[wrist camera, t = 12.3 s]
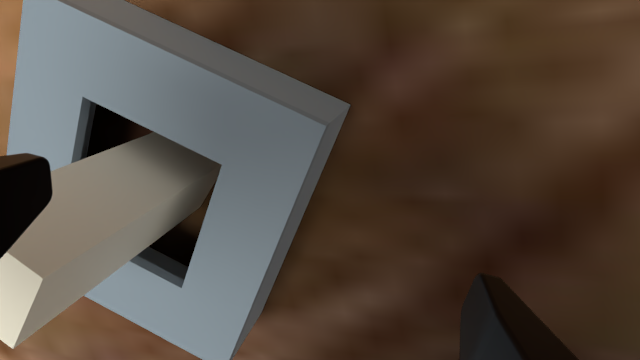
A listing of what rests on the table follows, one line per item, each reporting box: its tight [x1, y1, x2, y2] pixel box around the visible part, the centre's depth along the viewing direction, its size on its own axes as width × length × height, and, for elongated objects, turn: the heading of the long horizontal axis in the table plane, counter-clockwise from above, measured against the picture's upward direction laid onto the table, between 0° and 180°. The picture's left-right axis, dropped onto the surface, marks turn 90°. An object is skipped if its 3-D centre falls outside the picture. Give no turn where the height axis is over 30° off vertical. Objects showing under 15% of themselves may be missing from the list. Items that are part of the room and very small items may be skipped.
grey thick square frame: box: [7, 0, 350, 360], centre depth 23 cm, size 14×14×5 cm
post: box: [0, 132, 222, 349], centre depth 20 cm, size 4×4×12 cm
